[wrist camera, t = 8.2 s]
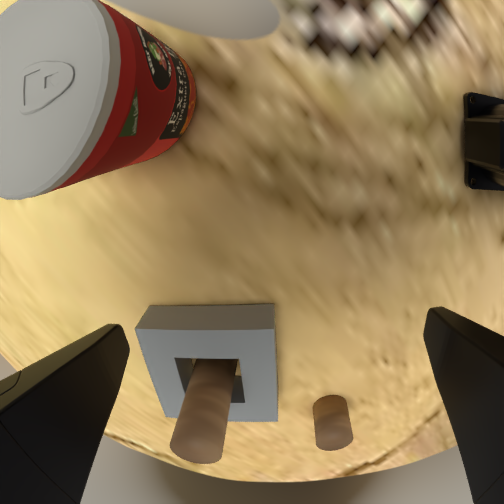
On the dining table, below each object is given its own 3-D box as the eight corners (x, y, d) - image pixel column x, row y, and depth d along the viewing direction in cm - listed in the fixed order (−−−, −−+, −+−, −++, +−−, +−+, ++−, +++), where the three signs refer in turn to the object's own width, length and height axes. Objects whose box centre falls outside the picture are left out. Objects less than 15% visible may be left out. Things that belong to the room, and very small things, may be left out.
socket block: (274, 303, 21) (273, 329, 19) (278, 394, 25) (277, 421, 22) (149, 305, 22) (134, 328, 20) (174, 392, 26) (166, 416, 23)
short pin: (348, 393, 24) (355, 428, 21) (344, 414, 25) (350, 448, 22) (313, 396, 25) (317, 432, 21) (312, 417, 26) (314, 451, 22)
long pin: (235, 340, 23) (217, 438, 15) (239, 370, 24) (225, 465, 16) (196, 340, 23) (163, 434, 15) (202, 369, 24) (176, 461, 16)
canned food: (215, 136, 18) (141, 146, 8) (104, 179, 19) (-19, 231, 9) (180, 26, 15) (91, -56, 5) (74, 78, 17) (-52, 67, 6)
